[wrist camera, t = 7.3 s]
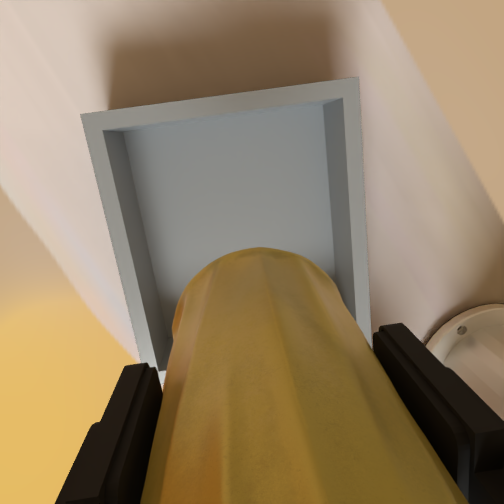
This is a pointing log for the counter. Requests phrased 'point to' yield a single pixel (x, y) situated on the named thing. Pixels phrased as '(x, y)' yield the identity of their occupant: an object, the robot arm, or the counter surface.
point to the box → (231, 193)
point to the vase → (282, 398)
